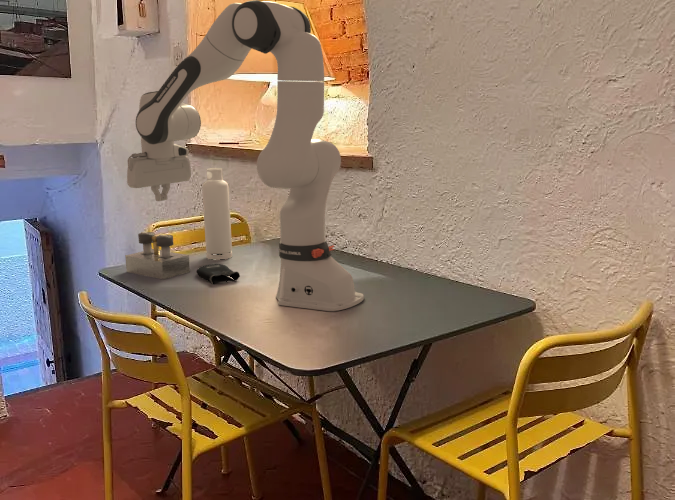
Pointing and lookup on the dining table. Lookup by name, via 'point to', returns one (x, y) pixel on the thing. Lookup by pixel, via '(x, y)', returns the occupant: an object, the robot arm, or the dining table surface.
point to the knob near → (165, 244)
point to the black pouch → (216, 272)
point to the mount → (157, 264)
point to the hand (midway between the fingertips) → (161, 200)
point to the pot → (155, 246)
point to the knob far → (146, 241)
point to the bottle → (217, 215)
